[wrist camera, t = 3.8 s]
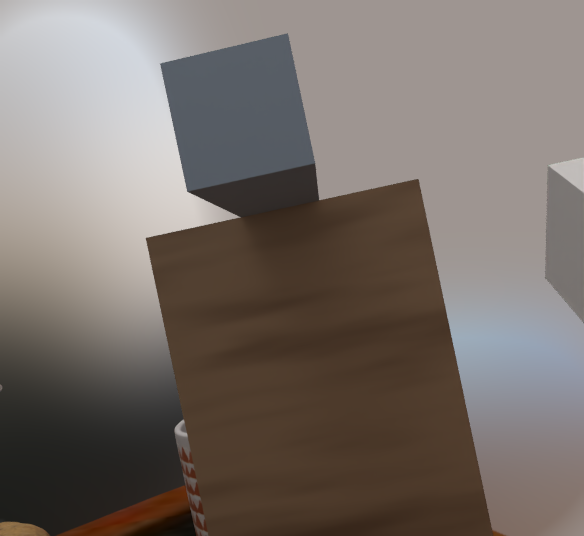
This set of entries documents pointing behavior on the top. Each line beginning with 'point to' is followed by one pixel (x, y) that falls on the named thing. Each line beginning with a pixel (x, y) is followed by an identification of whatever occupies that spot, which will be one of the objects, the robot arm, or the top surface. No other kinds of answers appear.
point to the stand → (320, 371)
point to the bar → (242, 127)
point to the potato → (20, 529)
